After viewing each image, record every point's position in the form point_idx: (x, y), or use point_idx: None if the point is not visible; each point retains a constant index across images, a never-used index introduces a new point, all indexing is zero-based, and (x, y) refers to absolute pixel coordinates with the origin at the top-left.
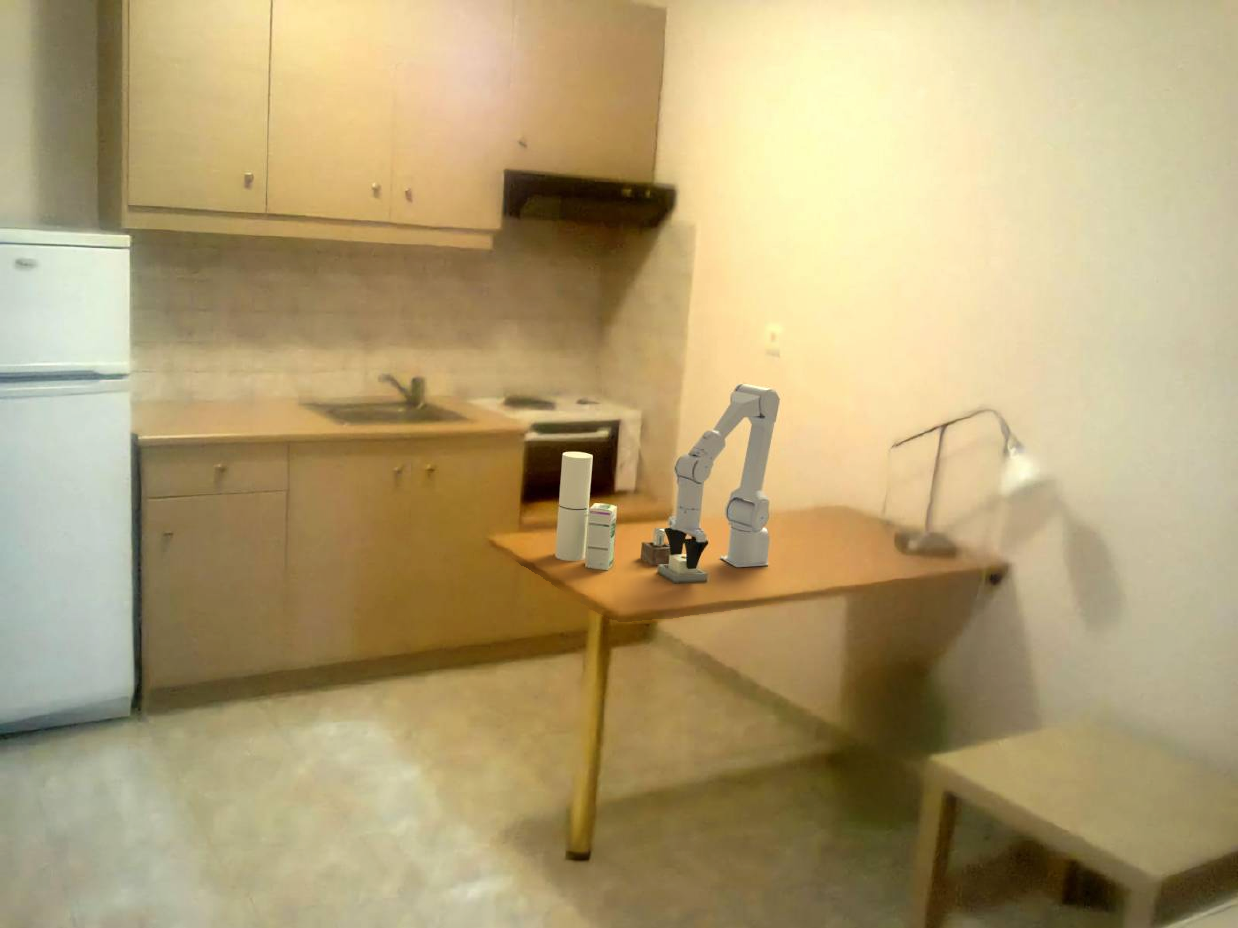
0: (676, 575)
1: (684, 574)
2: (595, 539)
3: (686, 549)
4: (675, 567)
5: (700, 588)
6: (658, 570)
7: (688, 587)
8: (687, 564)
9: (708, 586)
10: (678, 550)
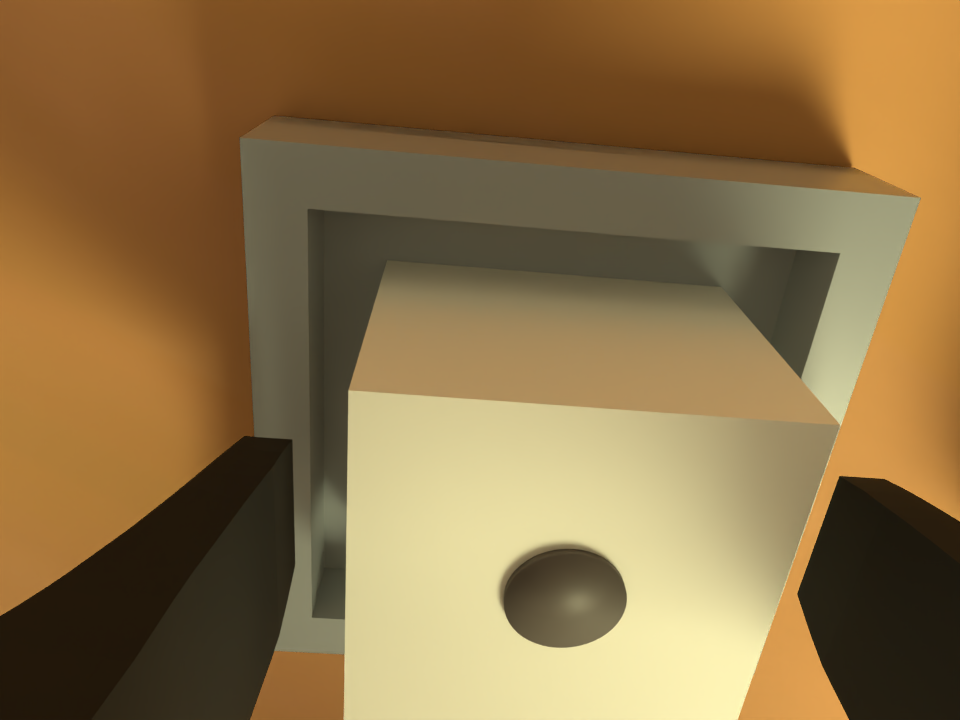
0: (255, 173)
1: (289, 342)
2: None
3: (36, 704)
4: (509, 323)
5: (15, 364)
6: (839, 171)
7: (66, 226)
8: (215, 464)
9: (92, 496)
10: (887, 680)
